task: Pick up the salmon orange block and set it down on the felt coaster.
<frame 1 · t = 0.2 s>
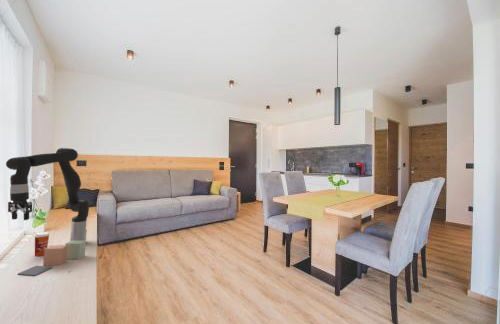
hand: (20, 219, 129), 28 cm above the worktop, tool pointing down, fingers open, 8 cm apart
marble 2: (51, 263, 137), on the worktop
sage green block: (74, 257, 147), on the worktop
salmon orange block: (55, 263, 137), on the worktop
marble 1: (58, 262, 138), on the worktop
felt coaster: (35, 271, 126), on the worktop
paper cup: (40, 254, 148), on the worktop
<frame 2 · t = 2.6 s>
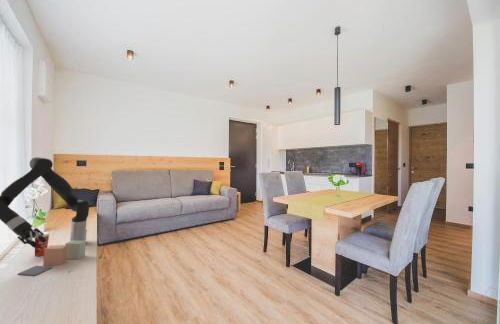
hand: (40, 244, 136), 12 cm above the worktop, tool tilted 45°, fingers open, 8 cm apart
nothing on the worktop moved.
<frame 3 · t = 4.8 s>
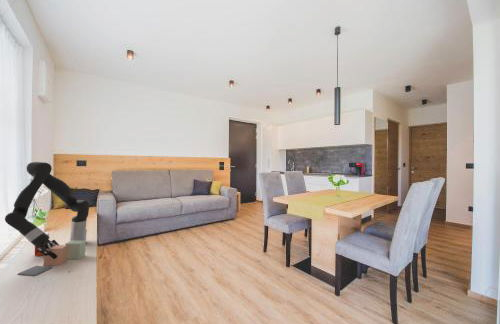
hand: (58, 255, 138), 5 cm above the worktop, tool tilted 45°, fingers closed on salmon orange block, 6 cm apart
salmon orange block: (55, 263, 137), on the worktop, touching gripper
everything else where it was.
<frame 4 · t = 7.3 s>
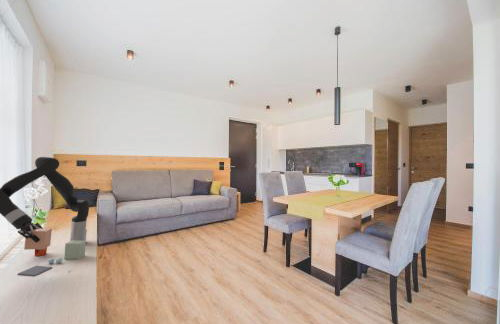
hand: (42, 239, 128), 18 cm above the worktop, tool tilted 45°, fingers closed on salmon orange block, 6 cm apart
salmon orange block: (37, 247, 127), point 13 cm above the worktop, touching gripper
everything else where it was.
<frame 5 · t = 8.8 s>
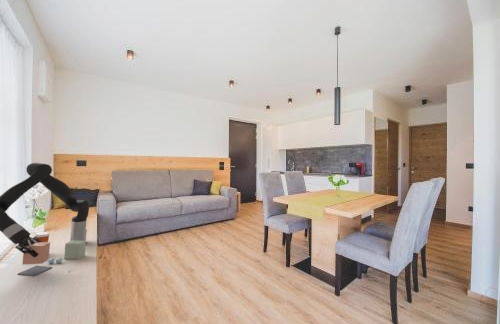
hand: (40, 253, 127), 10 cm above the worktop, tool tilted 45°, fingers closed on salmon orange block, 6 cm apart
salmon orange block: (35, 261, 126), point 5 cm above the worktop, touching gripper
everything else where it was.
when the fingers open (6 cm above the worktop, at t = 10.1 s): salmon orange block stays where it is, resting on felt coaster.
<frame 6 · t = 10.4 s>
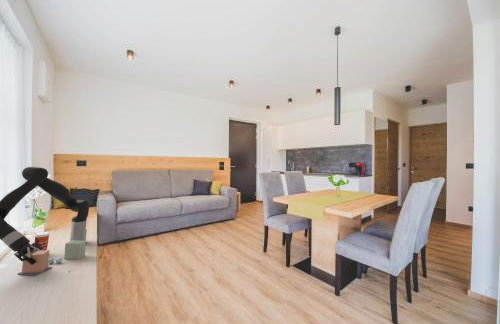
hand: (39, 260, 127), 6 cm above the worktop, tool tilted 45°, fingers open, 8 cm apart
salmon orange block: (35, 270, 126), point 1 cm above the worktop, touching felt coaster
everything else where it was.
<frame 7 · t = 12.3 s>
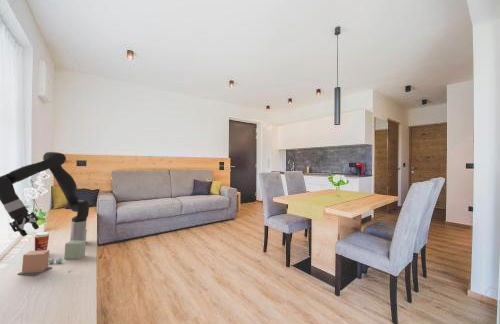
hand: (31, 232, 133), 20 cm above the worktop, tool tilted 30°, fingers open, 8 cm apart
nothing on the worktop moved.
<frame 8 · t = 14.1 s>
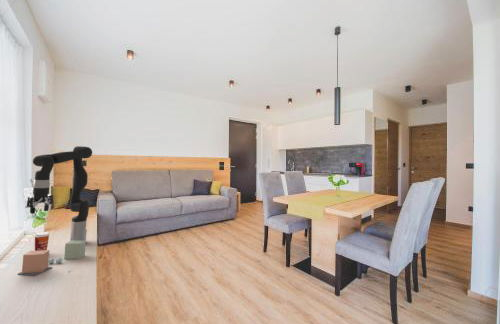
hand: (39, 212, 141), 30 cm above the worktop, tool pointing down, fingers open, 8 cm apart
nothing on the worktop moved.
at the end: salmon orange block inside the target area on the felt coaster (0.1 cm from its centre), point 0.6 cm above the felt coaster's base; salmon orange block tilted 0°; the gripper is holding nothing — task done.
